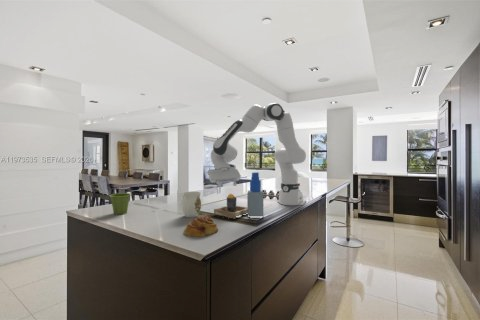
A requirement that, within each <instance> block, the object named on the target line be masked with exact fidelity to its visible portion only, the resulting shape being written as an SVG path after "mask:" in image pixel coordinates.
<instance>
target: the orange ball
mask: <svg viewBox="0 0 480 320" xmlns="http://www.w3.org/2000/svg"><path fill="white" fill-rule="evenodd" d="M227 197H228V198H235V197H236V196H235V194H234V193H229V194H228V195H227Z"/></svg>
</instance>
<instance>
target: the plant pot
mask: <svg viewBox="0 0 480 320" xmlns="http://www.w3.org/2000/svg"><path fill="white" fill-rule="evenodd" d="M131 195H132V193H128V192H125V193H124V192H121V193H113V194H112V193H111V194H109V195H108V196H109V197H110V201H111V207H112V211H113V215H118V216H119V215H124V214H127V213H128V208H129V202H130V198H131Z"/></svg>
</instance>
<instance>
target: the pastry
mask: <svg viewBox="0 0 480 320" xmlns="http://www.w3.org/2000/svg"><path fill="white" fill-rule="evenodd" d="M218 231H219V228H218V225H217V223H216V222H214V220H213V218H212V217H211V215H210V214H208V213H205V214H200V215H197V217H194V219H192V220H191V221H189V222H188V223H187V225H186V227H185V228H184V230H183V235H184V236H188V237H191V238H192V237H193V238H203V237H205V236H210V235H214V233H215V234H216V233H218Z"/></svg>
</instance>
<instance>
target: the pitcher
mask: <svg viewBox="0 0 480 320" xmlns="http://www.w3.org/2000/svg"><path fill="white" fill-rule="evenodd" d="M181 194H182V199H181V210H182V212H183V215H184V217H186V218H197V217H198V216H199V214H200V211H201V209H202V200H201V192H200V191H184V192H182V193H181Z"/></svg>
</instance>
